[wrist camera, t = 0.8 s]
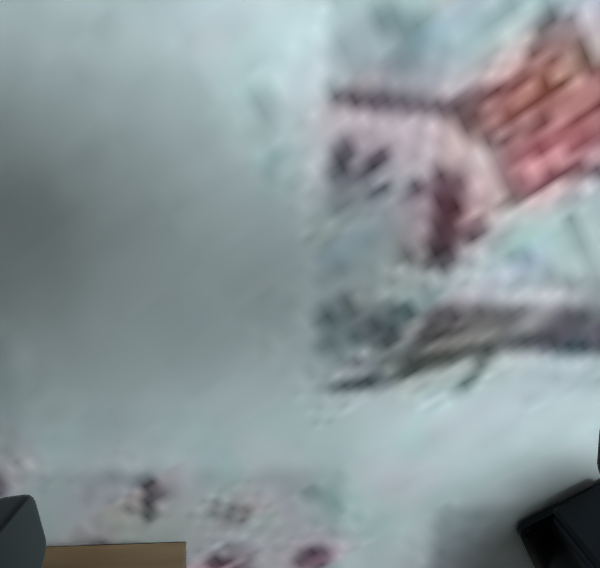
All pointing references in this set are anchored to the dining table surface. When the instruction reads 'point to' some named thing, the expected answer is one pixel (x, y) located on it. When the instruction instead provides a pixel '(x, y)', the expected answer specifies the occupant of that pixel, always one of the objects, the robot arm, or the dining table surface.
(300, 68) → the dining table surface
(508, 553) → the dining table surface
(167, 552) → the slide box
